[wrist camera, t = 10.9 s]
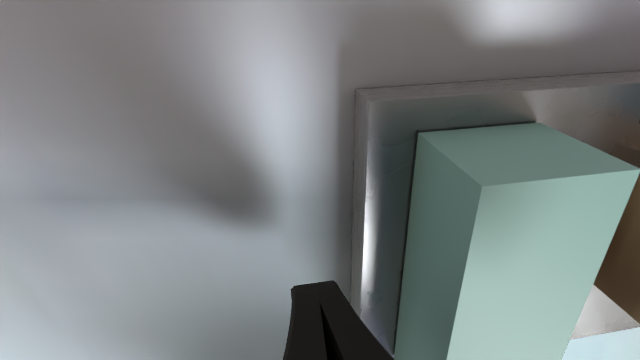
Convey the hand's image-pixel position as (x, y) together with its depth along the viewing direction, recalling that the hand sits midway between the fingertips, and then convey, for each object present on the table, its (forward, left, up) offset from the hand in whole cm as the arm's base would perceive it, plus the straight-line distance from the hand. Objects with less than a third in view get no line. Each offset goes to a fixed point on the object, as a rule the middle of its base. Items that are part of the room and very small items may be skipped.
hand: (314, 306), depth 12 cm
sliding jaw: (0, -5, -1) cm, 6 cm away
